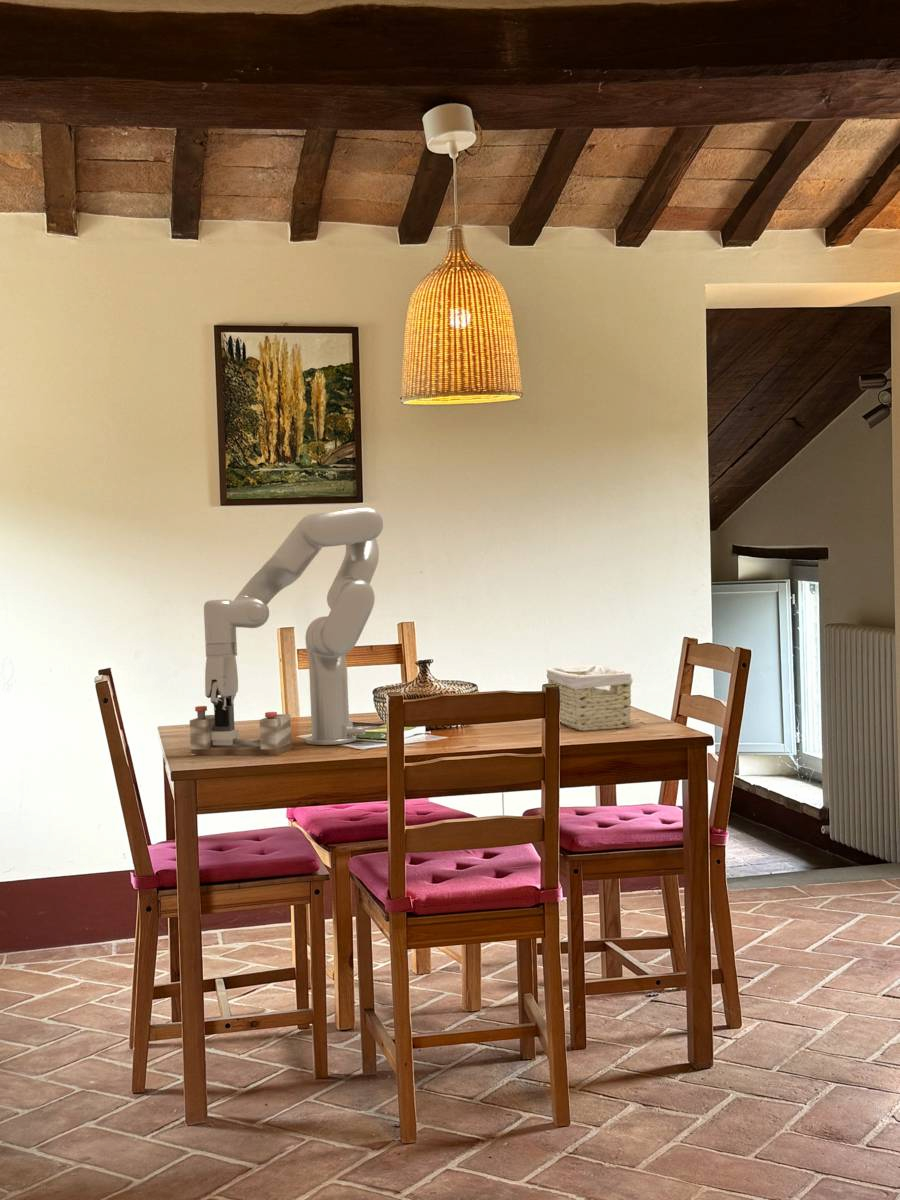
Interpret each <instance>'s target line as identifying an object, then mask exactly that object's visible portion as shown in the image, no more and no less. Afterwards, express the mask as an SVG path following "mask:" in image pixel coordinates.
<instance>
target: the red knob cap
mask: <svg viewBox="0 0 900 1200" xmlns="http://www.w3.org/2000/svg"><path fill="white" fill-rule="evenodd" d="M277 714H278V713H277V711H267V712H265V713H264V718H266V717H267V719H275V717H277Z"/></svg>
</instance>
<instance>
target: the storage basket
mask: <svg viewBox="0 0 900 1200" xmlns="http://www.w3.org/2000/svg"><path fill="white" fill-rule="evenodd" d="M546 679H548V681H547V682H548V685H549V684H557V685H558V686H559V688H560V720H561V723H560V724H562V725H565V726H567V727H569V728H570V729H571V728H572V729H575V730H577V731H582V732H588V731H598V730H600V731H602V730H613V729H624V728H628V727H630V726H631V711H632V710H631V709H632V708H631V704H632V703H631V702H632V699H631V697H632V694H631V691H632V689H631V686H632V683H633V677H632V674H631V672H629V671H627V670H624V669H621V668H616V667H612V666H607V665H600V664H591V665H590V664H589V665H574V666H573V665H572V666H557V667H548V668H547V669H546Z"/></svg>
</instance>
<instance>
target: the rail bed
mask: <svg viewBox="0 0 900 1200" xmlns="http://www.w3.org/2000/svg"><path fill="white" fill-rule="evenodd" d="M291 728H292V727H291V714H287V713H286V714H283V713H282V714H279V713H277V717H275V719H267V717H264V718H261V719H259V738H260V739H259V738H258V739H257V738H250V739H248V738H247V739H245V738H240V739H239V738H238V739H233V745H213V740H212V738H211V732H213V731H215V715H214V714H205V719H204V720H198V717H196V718H193V719H190V720H189V738H190V755H191V754H196V755H195V756H279V755H281V754H283V753H285V752H288V751H290V750H292V729H291Z"/></svg>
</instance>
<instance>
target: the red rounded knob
mask: <svg viewBox="0 0 900 1200" xmlns="http://www.w3.org/2000/svg"><path fill="white" fill-rule="evenodd" d="M194 709H195V712H197V713H196V714H197V715H196V716H197V718H198V720H204V719H205V715H206V712H208V707H207V706H206V705H199V706H195V707H194Z"/></svg>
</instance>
